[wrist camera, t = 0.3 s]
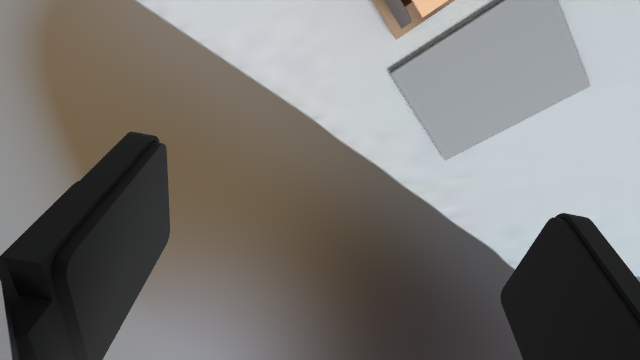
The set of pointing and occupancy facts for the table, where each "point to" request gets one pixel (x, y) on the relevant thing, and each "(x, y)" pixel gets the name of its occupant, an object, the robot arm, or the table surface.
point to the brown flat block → (402, 15)
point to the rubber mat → (492, 73)
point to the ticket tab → (427, 5)
